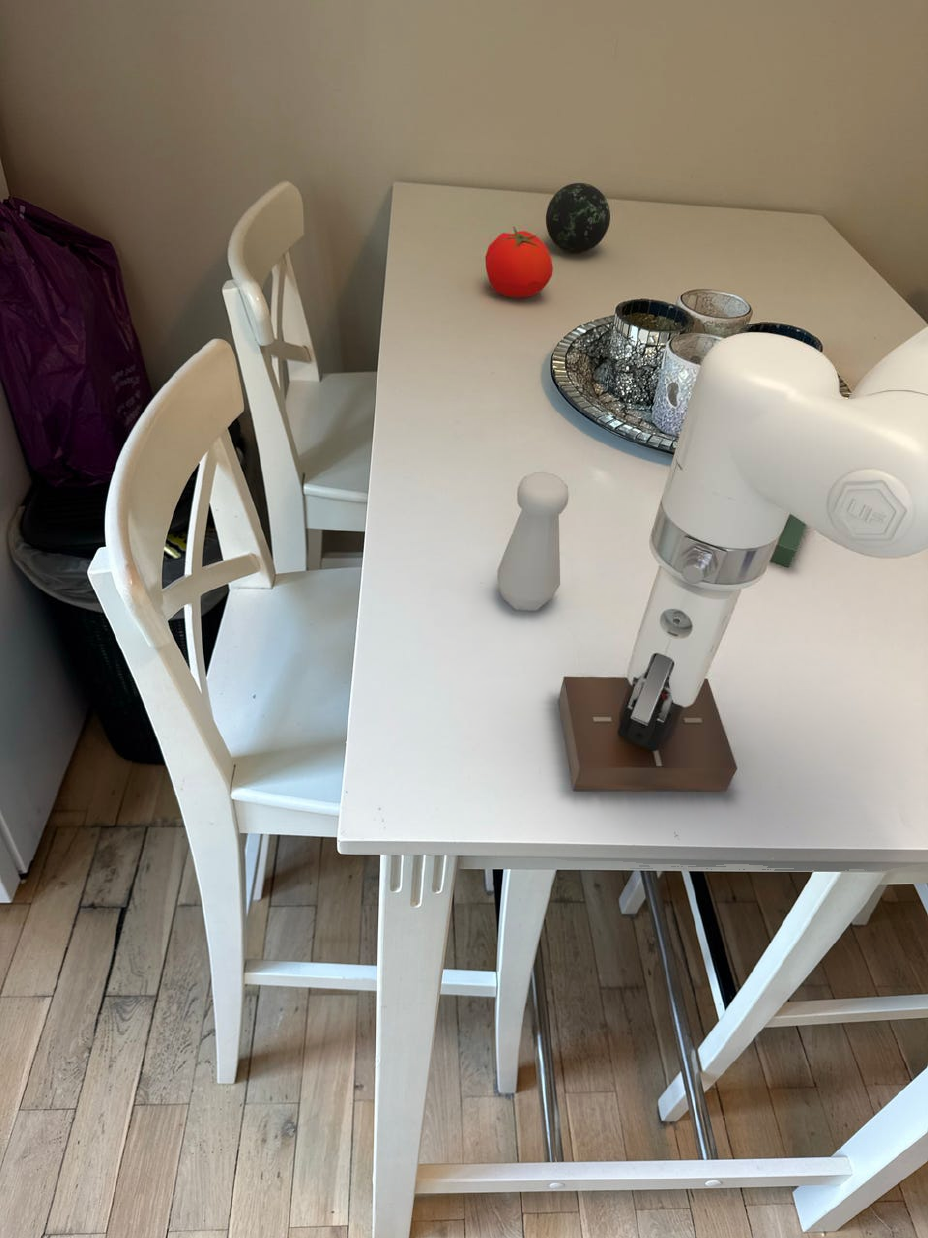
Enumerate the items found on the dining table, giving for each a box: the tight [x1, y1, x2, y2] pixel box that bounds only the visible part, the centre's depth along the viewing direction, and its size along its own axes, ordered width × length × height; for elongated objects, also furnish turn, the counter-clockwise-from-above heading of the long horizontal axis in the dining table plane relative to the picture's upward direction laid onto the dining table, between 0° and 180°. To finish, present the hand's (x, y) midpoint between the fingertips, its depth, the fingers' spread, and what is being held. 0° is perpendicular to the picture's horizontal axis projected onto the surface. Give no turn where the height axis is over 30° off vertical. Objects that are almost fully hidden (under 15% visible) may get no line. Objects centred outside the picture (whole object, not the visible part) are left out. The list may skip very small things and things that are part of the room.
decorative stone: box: [545, 182, 611, 254], centre depth 138 cm, size 10×10×10 cm
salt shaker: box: [496, 471, 570, 612], centre depth 77 cm, size 6×6×13 cm
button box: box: [770, 514, 807, 568], centre depth 91 cm, size 10×8×4 cm
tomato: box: [484, 225, 554, 299], centre depth 126 cm, size 9×10×8 cm
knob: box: [620, 669, 684, 742], centre depth 67 cm, size 4×4×5 cm
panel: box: [557, 676, 738, 792], centre depth 69 cm, size 12×9×3 cm
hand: (649, 716), depth 68 cm, fingers closed on knob, 4 cm apart
